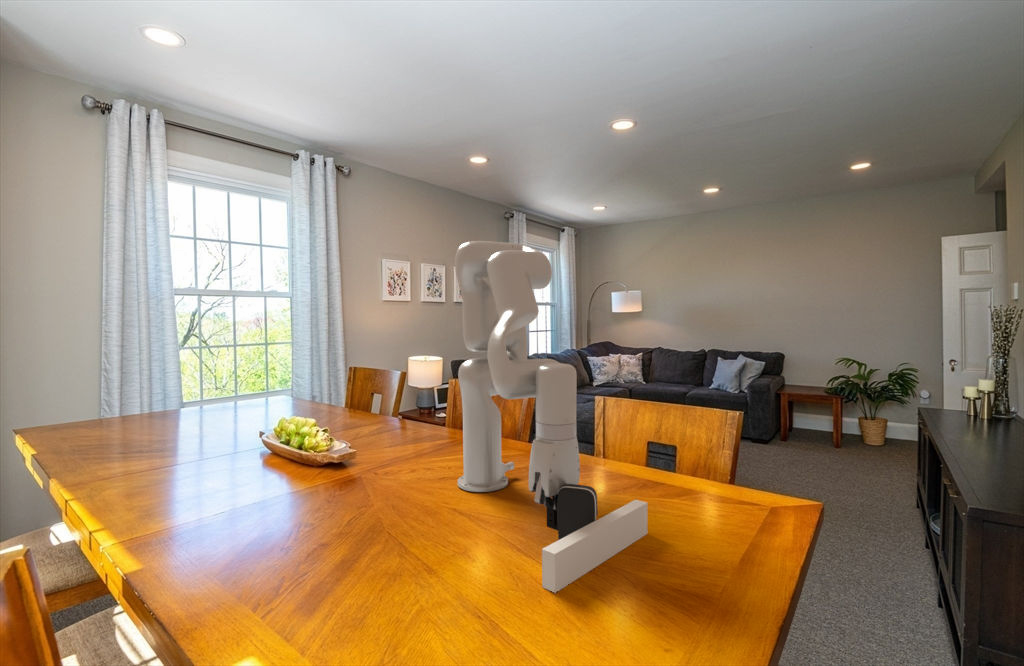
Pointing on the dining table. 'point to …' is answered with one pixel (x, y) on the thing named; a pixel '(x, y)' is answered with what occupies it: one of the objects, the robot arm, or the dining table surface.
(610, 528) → the board
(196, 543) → the dining table surface
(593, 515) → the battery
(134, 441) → the dining table surface
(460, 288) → the robot arm
